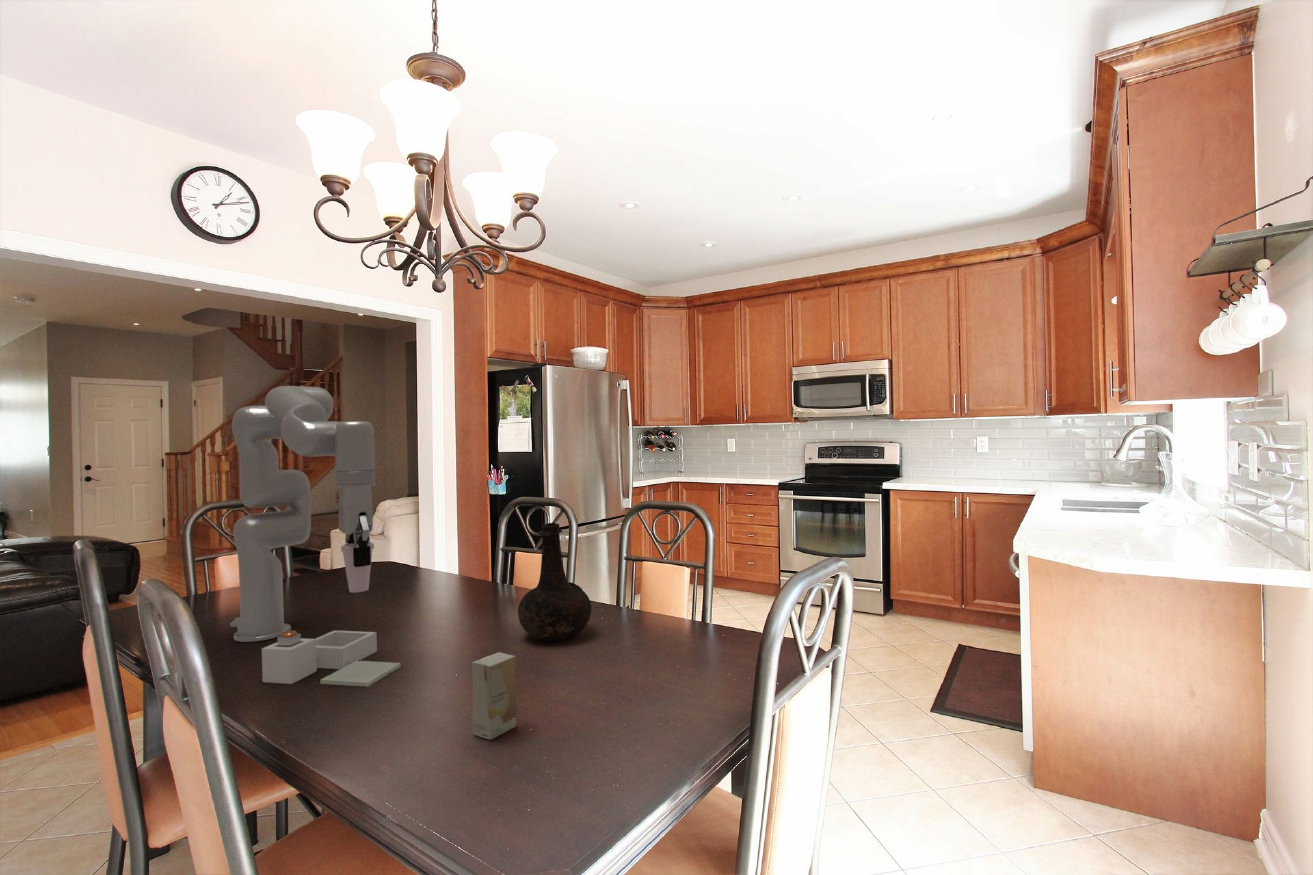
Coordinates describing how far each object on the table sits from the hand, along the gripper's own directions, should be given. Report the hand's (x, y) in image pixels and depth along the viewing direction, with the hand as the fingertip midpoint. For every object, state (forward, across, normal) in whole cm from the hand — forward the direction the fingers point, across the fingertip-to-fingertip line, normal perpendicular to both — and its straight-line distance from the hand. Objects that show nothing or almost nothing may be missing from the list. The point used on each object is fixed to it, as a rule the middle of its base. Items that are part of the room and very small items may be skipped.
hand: (358, 562), depth 133 cm
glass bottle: (+24, +6, +44) cm, 50 cm away
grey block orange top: (+21, -9, -12) cm, 26 cm away
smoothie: (+6, 0, 0) cm, 6 cm away
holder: (+24, -14, -2) cm, 28 cm away
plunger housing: (+24, -9, -12) cm, 28 cm away
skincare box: (+24, +43, +11) cm, 51 cm away
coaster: (+24, 0, 0) cm, 24 cm away
